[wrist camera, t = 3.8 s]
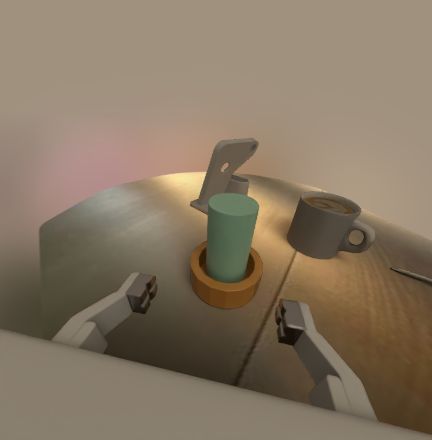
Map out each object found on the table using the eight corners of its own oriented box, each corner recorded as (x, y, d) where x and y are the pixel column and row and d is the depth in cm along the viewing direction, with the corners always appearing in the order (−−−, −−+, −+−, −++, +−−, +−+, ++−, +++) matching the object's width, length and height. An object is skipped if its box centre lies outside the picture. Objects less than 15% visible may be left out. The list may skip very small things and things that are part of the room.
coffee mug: (277, 235, 39) (290, 195, 33) (306, 226, 43) (321, 188, 38) (335, 279, 29) (365, 231, 24) (365, 261, 33) (397, 217, 28)
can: (230, 299, 24) (243, 221, 17) (197, 276, 27) (197, 203, 20) (250, 272, 28) (267, 202, 21) (220, 255, 31) (226, 189, 24)
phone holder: (226, 190, 61) (231, 134, 51) (250, 199, 55) (261, 138, 46) (188, 204, 49) (186, 136, 40) (213, 217, 44) (218, 142, 34)
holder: (235, 326, 22) (239, 307, 19) (177, 281, 27) (175, 262, 25) (268, 273, 29) (273, 256, 27) (217, 246, 34) (218, 230, 32)
